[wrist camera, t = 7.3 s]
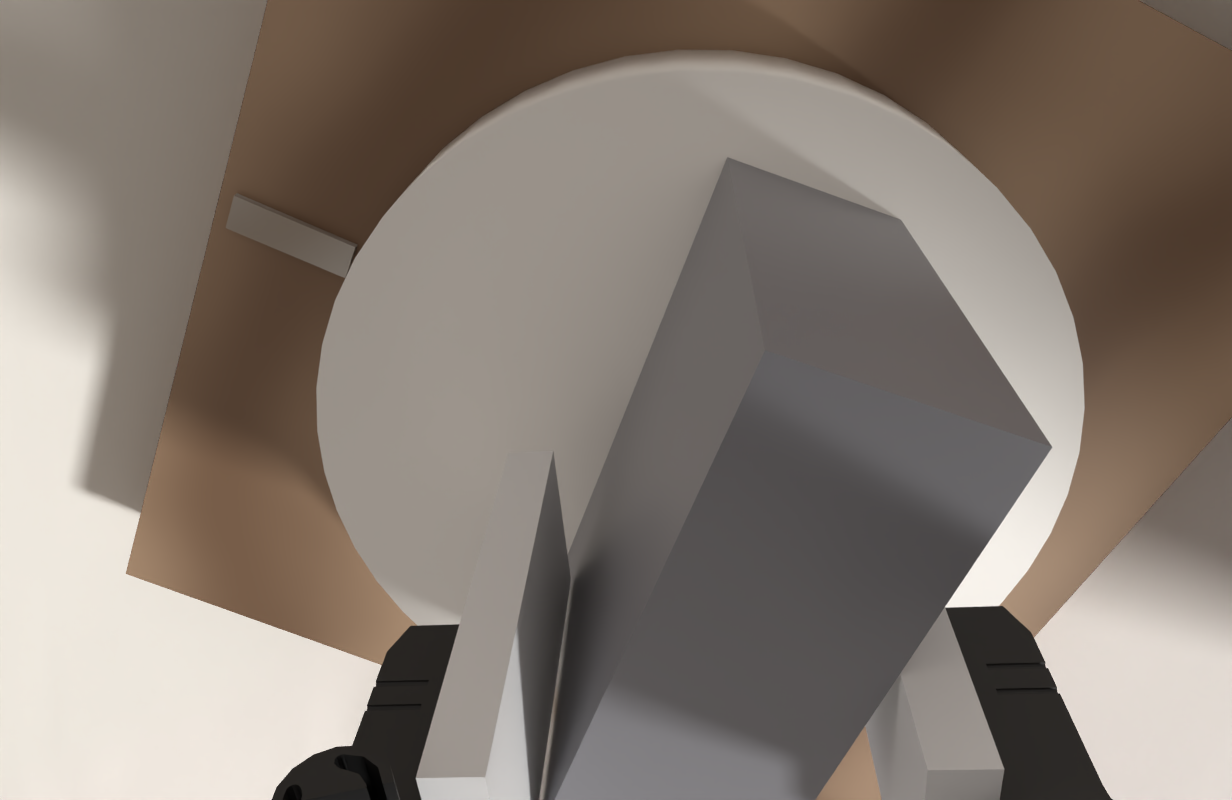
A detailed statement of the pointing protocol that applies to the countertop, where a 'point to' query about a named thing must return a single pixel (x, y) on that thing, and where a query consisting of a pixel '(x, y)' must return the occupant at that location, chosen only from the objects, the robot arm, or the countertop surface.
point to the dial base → (691, 20)
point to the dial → (707, 403)
